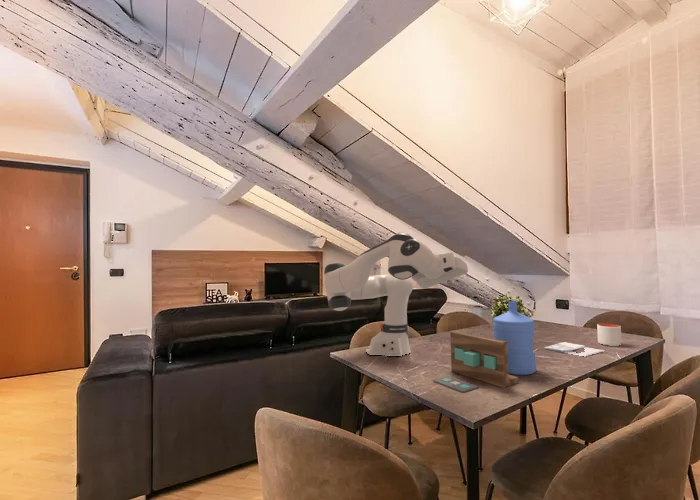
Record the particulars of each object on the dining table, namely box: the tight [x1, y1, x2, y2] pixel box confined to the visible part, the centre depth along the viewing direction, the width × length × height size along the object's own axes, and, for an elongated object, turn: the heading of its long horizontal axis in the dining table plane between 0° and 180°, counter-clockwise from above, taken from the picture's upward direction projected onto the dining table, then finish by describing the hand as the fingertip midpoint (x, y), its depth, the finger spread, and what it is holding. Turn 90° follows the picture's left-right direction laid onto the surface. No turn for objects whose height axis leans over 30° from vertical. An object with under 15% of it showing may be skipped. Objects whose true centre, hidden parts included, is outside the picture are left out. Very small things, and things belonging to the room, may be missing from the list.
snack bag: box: [543, 341, 607, 358], centre depth 179 cm, size 19×20×2 cm
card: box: [433, 375, 479, 394], centre depth 134 cm, size 8×14×1 cm, turn 33°
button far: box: [455, 347, 466, 361], centre depth 147 cm, size 7×4×4 cm, turn 123°
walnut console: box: [449, 330, 519, 388], centre depth 143 cm, size 9×24×16 cm, turn 33°
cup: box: [596, 323, 622, 347], centre depth 189 cm, size 10×10×10 cm
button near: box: [484, 354, 497, 370], centre depth 136 cm, size 7×4×4 cm, turn 123°
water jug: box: [492, 300, 537, 376], centre depth 151 cm, size 16×16×28 cm
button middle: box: [463, 350, 481, 367], centre depth 140 cm, size 7×4×4 cm, turn 123°
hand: (450, 282), depth 145 cm, fingers closed
